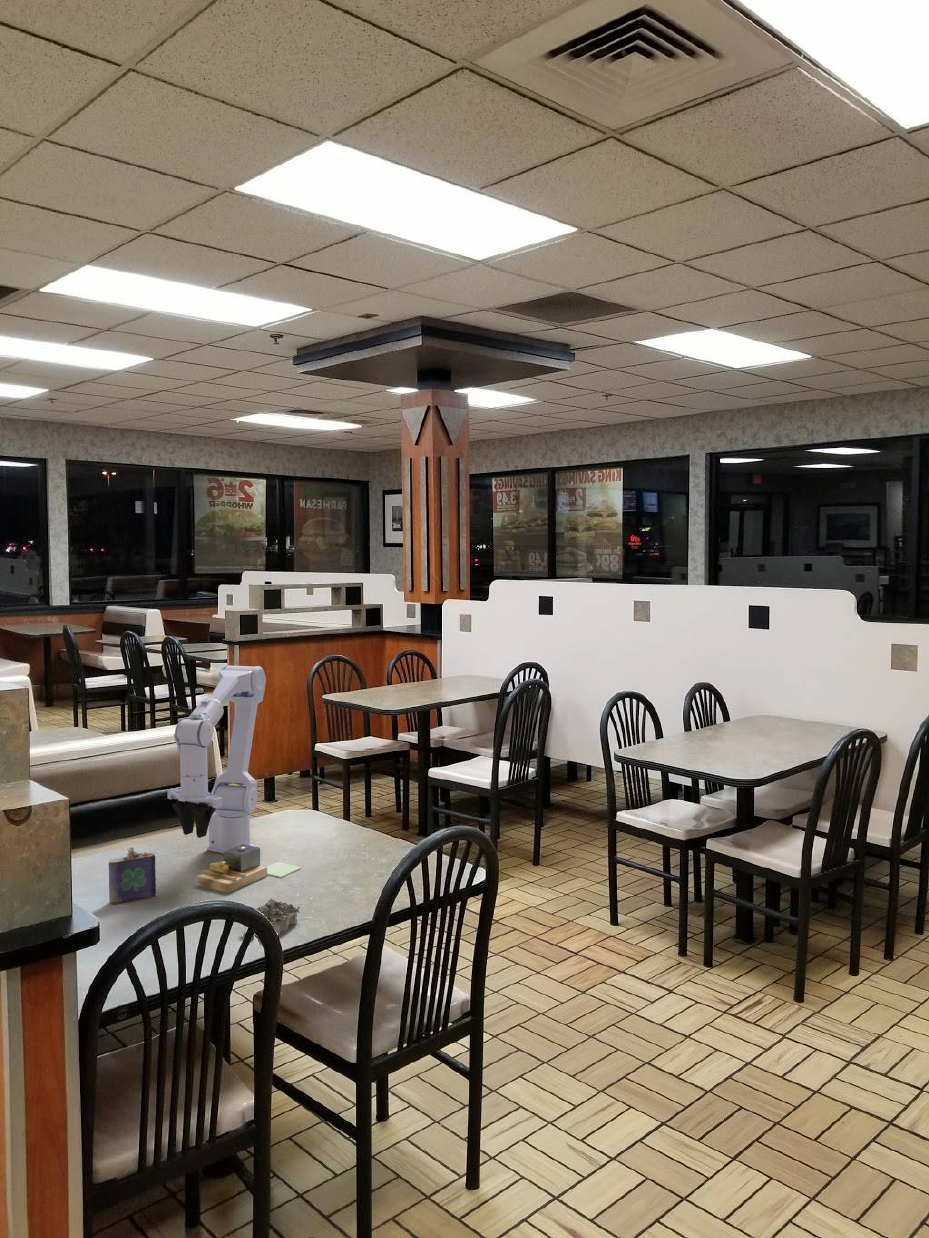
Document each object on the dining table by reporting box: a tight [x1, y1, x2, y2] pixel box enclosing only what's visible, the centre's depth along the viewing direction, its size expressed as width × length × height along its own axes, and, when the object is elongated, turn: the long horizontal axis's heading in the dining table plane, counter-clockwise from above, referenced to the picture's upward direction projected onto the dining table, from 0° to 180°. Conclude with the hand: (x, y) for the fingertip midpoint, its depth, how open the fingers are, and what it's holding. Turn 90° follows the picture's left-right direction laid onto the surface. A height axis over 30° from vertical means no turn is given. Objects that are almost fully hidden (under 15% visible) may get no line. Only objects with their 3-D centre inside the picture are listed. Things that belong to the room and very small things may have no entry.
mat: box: [266, 861, 303, 879], centre depth 212 cm, size 7×7×1 cm
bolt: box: [209, 860, 229, 875], centre depth 204 cm, size 4×2×3 cm, turn 60°
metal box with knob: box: [223, 844, 261, 873], centre depth 208 cm, size 5×6×4 cm
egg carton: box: [255, 898, 301, 937], centre depth 181 cm, size 11×8×4 cm
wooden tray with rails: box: [196, 864, 268, 894], centre depth 205 cm, size 9×12×3 cm
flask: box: [108, 847, 157, 906], centre depth 194 cm, size 9×3×11 cm, turn 121°
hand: (195, 834), depth 207 cm, fingers open, 3 cm apart
